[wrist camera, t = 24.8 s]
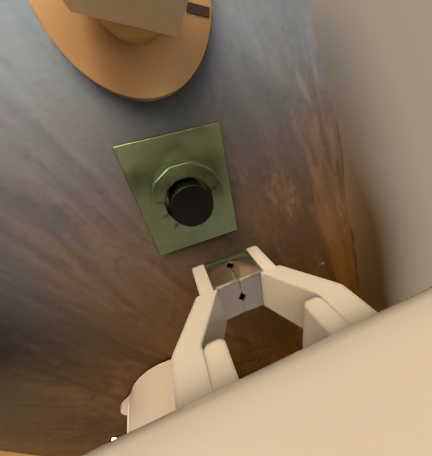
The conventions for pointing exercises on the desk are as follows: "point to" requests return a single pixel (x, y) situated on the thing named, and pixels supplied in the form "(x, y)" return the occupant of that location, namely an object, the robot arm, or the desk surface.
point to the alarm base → (174, 174)
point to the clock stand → (129, 51)
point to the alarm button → (190, 203)
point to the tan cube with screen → (134, 17)
